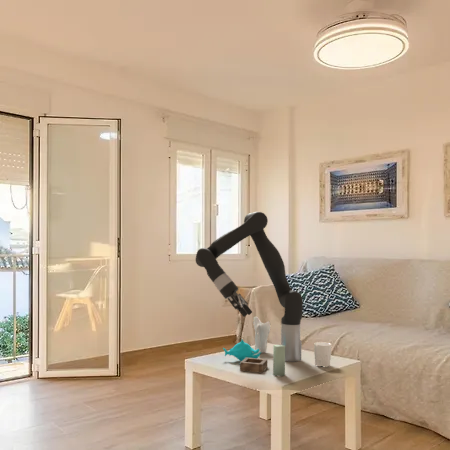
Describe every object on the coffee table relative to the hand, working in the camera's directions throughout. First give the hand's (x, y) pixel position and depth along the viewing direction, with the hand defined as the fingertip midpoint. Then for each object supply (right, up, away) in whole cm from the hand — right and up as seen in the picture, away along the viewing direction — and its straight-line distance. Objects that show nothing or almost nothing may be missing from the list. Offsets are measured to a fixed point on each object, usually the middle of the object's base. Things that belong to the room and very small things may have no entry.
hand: (248, 314), depth 210 cm
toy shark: (-2, -25, +16) cm, 30 cm away
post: (+13, -24, -6) cm, 28 cm away
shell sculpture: (+8, -26, +37) cm, 46 cm away
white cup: (+35, -26, +11) cm, 45 cm away
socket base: (+3, -25, +3) cm, 25 cm away
